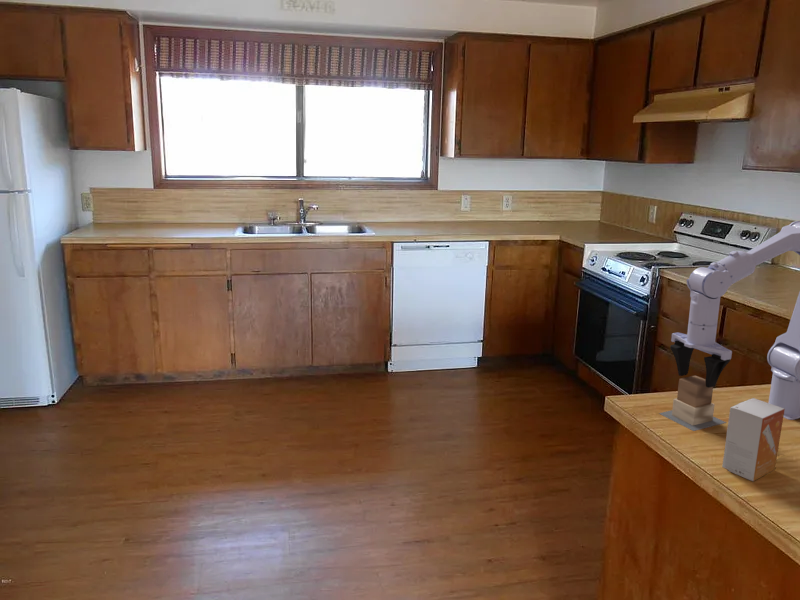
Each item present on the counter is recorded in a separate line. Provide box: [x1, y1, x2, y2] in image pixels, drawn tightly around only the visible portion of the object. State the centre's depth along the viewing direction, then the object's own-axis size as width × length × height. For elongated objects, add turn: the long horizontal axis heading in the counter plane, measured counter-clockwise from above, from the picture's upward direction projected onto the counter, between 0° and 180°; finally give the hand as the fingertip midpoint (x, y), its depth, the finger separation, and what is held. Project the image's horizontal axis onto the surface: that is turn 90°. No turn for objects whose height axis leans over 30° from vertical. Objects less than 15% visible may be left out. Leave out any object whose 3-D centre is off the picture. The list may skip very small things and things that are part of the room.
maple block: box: [671, 397, 716, 425], centre depth 144 cm, size 6×6×4 cm
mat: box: [658, 409, 727, 432], centre depth 145 cm, size 10×10×1 cm
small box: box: [721, 397, 785, 482], centre depth 122 cm, size 8×6×13 cm
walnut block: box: [676, 375, 714, 407], centre depth 143 cm, size 5×5×5 cm
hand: (696, 380), depth 143 cm, fingers open, 7 cm apart
